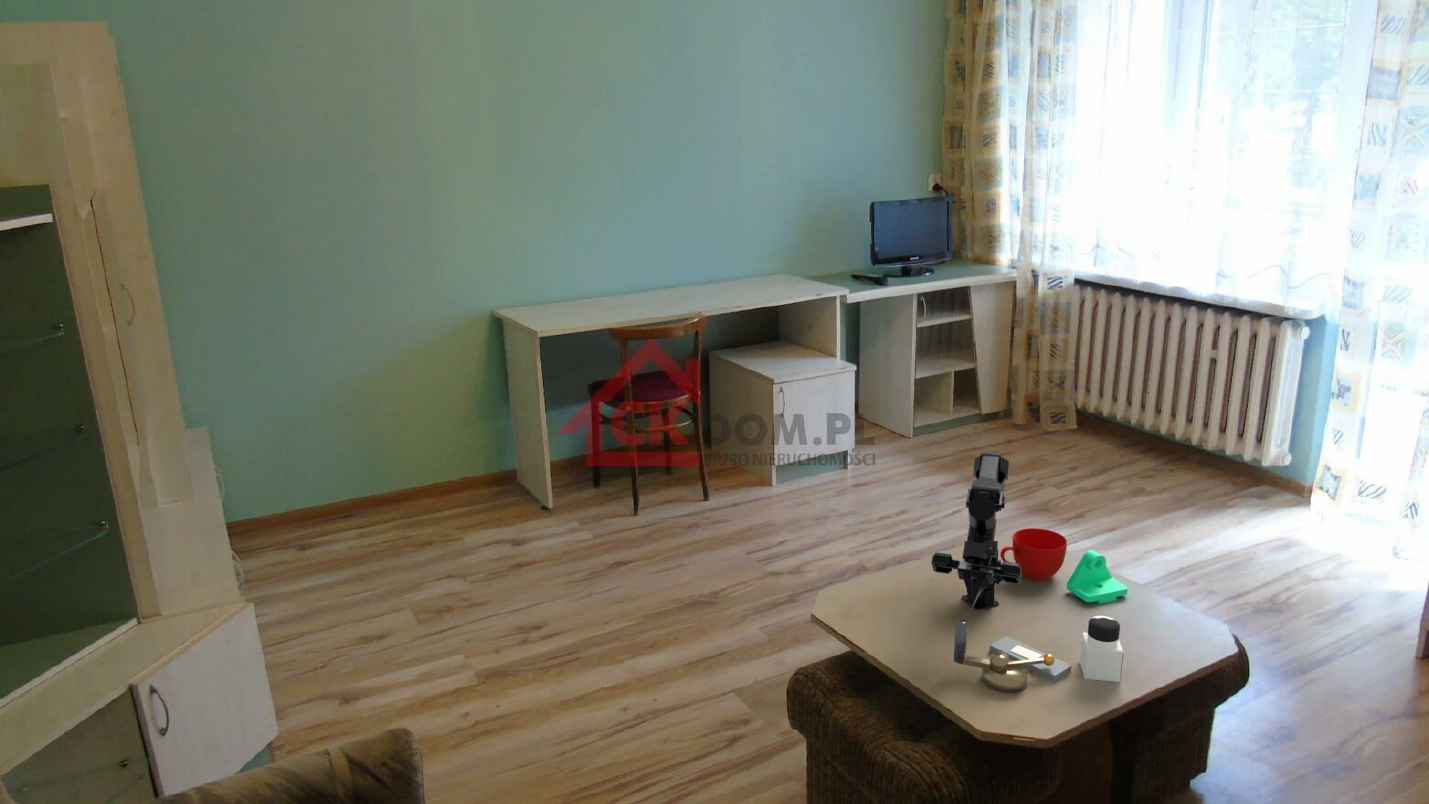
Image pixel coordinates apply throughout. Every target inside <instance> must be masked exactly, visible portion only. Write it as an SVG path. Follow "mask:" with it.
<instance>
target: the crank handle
mask: <svg viewBox="0 0 1429 804" xmlns="http://www.w3.org/2000/svg"><path fill="white" fill-rule="evenodd" d="M967 634H968V621H967V619H964V618H957V619H956V620H955V625H954V642H953V644H954V645H953V662H954V663H956V664H959V665H964V666H969V667H974V668H975V667H976V668H980V669H981V680H982V682H983V684H984V685H985V686H987V687H988V688H990V689H992V690H995V691H998V692H1002V693H1017V692H1020V691H1023V690H1024V689H1025V688H1027V685H1028V674H1029V673H1028V671H1029V670H1028V669H1026V668H1025V666H1026V665H1034V664H1042V663H1044V664H1045V665H1047V666H1051V665H1053V664H1054V662H1055V659H1054V658H1055V657H1054V655H1052V654H1050V653H1045V654H1046V655H1044V656H1043V658H1037V659H1029V660H1021V661H1014V660H1011V659H1009V656H1008V654H1006V653H1004V652H1001V651H995V652H991V653H990V656H989V657H990V659H988V658H983V657H979V656H978V657H976V656H971V655H967V654H966V653H967V638H968V637H967V636H968V635H967Z"/></svg>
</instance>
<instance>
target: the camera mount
mask: <svg viewBox="0 0 1429 804" xmlns="http://www.w3.org/2000/svg"><path fill="white" fill-rule="evenodd" d="M1066 590H1068V591H1069V592H1071V593H1072V594H1073V595H1074V596H1076V597H1077V598H1080V599H1081V600H1082V601H1084V602H1085V603H1093V602H1096V603H1098V604H1100V605H1101V604H1105V603H1106V604H1107V603H1110V602H1114V601H1117V597H1123V596H1126V595H1128V590H1129V589H1128V586H1127V585H1125V584H1123V583H1122V582H1120V581H1119V580H1117V579H1116V578H1114V577H1113V576H1112V575H1111V573H1110V571H1109V569H1108V567H1107V558H1106V557H1105V556H1103V555H1102V554H1100V553H1099V552H1097V551H1095V550H1093V549H1089V550H1088V551H1085V553H1084V554H1083V556H1082V557H1081V559H1080V560H1079V562H1078V564H1077V565H1076V567H1075V569H1074V571H1073V572H1072V574H1071V576H1070V577H1069V579H1068V581H1067V582H1066Z"/></svg>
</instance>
